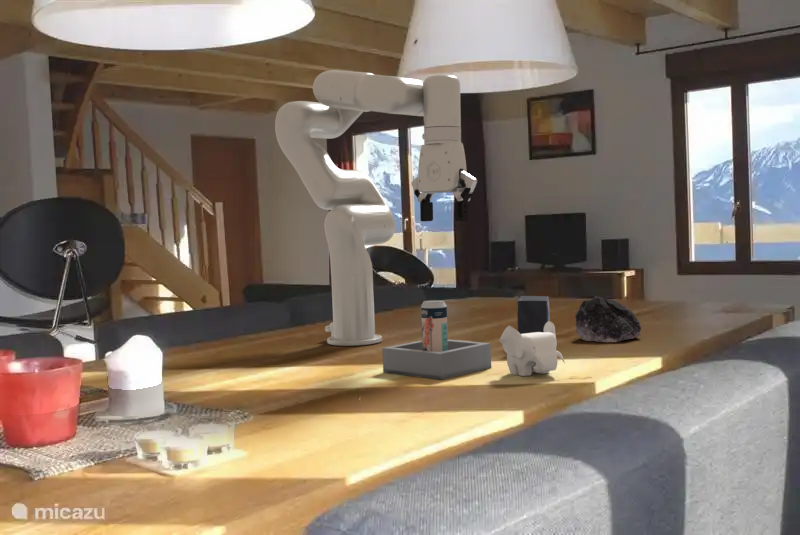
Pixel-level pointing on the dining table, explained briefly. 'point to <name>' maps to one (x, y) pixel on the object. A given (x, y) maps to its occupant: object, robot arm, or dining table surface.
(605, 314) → the crystal cluster
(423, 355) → the tray
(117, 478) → the dining table surface
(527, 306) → the small box
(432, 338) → the beer can
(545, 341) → the elephant figurine
